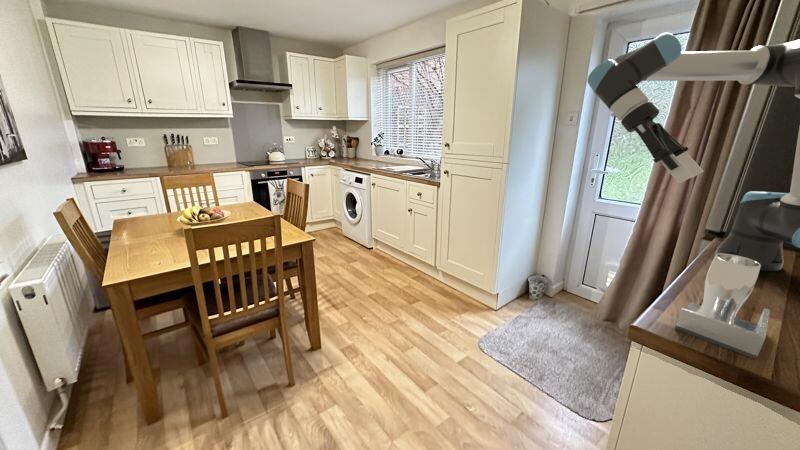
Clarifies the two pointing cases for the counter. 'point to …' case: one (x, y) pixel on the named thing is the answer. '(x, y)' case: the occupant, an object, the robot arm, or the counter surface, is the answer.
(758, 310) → the counter surface
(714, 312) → the beer glass
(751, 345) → the tray
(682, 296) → the counter surface
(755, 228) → the robot arm
